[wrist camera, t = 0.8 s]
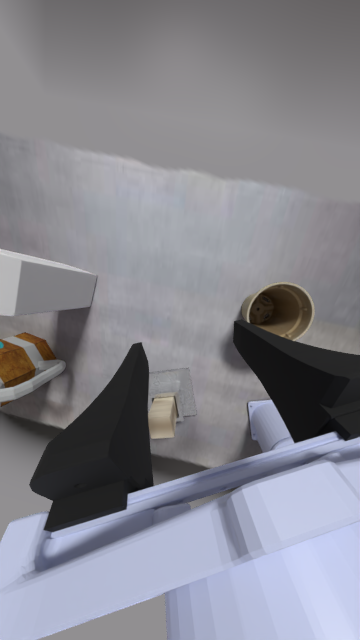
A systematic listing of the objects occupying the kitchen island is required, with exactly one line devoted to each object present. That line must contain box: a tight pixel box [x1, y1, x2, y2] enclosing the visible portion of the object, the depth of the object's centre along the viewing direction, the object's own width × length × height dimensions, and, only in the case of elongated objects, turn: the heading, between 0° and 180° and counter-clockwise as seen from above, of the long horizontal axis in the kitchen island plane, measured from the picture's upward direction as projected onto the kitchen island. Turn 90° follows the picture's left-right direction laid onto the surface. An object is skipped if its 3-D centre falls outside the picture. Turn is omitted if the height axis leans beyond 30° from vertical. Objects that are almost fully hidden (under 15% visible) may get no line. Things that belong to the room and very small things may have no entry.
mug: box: [0, 332, 66, 407], centre depth 30 cm, size 20×14×15 cm
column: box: [148, 396, 178, 439], centre depth 31 cm, size 4×4×9 cm
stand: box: [148, 368, 197, 422], centre depth 34 cm, size 11×11×5 cm
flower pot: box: [242, 282, 314, 341], centre depth 27 cm, size 9×9×9 cm
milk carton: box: [0, 249, 97, 316], centre depth 25 cm, size 7×7×19 cm
